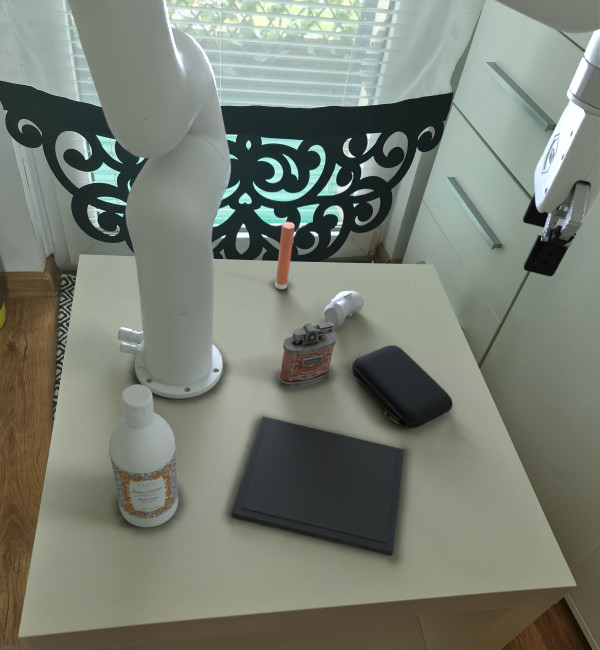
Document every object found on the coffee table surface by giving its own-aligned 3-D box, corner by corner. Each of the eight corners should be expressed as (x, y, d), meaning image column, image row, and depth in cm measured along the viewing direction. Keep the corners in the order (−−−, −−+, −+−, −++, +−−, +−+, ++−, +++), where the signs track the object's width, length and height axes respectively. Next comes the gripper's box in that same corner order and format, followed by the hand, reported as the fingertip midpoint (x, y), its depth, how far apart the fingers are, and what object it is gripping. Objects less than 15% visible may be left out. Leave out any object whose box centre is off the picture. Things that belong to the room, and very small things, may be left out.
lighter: (283, 390, 90) (291, 340, 82) (275, 374, 92) (281, 324, 84) (332, 378, 93) (344, 329, 85) (323, 363, 94) (334, 313, 87)
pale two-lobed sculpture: (345, 304, 106) (369, 312, 103) (315, 323, 102) (338, 331, 99) (344, 281, 104) (368, 288, 101) (312, 300, 99) (337, 307, 96)
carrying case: (338, 373, 93) (401, 440, 86) (342, 359, 91) (406, 427, 84) (391, 350, 98) (454, 412, 91) (396, 336, 96) (461, 399, 89)
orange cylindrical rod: (274, 288, 105) (281, 227, 96) (276, 281, 107) (283, 220, 98) (285, 290, 105) (293, 230, 96) (287, 283, 106) (295, 223, 98)
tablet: (231, 516, 75) (231, 512, 74) (262, 419, 86) (262, 415, 85) (391, 555, 74) (393, 551, 73) (402, 452, 85) (404, 448, 84)
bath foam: (120, 533, 72) (100, 425, 57) (118, 483, 76) (98, 371, 61) (181, 525, 73) (176, 418, 58) (175, 477, 78) (169, 366, 63)
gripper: (568, 47, 62) (504, 200, 74) (580, 116, 50) (502, 283, 63) (643, 64, 61) (565, 215, 74) (672, 138, 50) (574, 302, 62)
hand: (536, 247), depth 68 cm, fingers open, 9 cm apart
